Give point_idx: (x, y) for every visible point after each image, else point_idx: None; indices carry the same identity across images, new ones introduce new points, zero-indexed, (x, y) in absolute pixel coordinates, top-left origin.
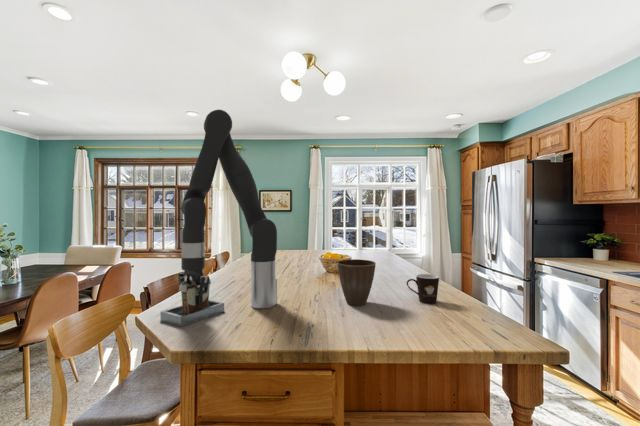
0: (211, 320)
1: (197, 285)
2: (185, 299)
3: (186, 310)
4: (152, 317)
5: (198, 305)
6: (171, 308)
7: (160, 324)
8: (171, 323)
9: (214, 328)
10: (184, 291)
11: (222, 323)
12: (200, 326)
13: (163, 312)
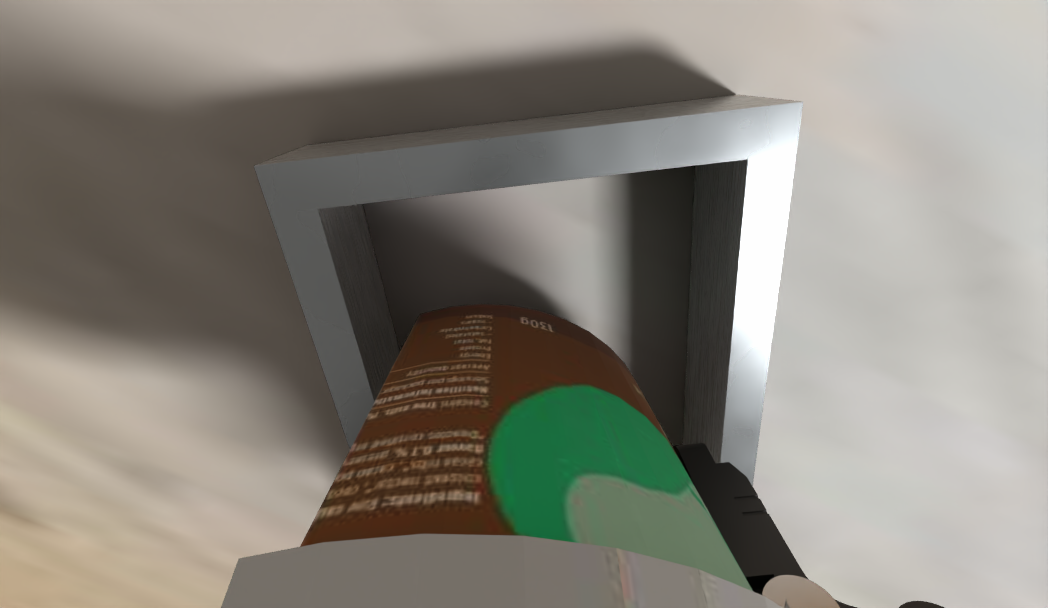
0: (279, 423)
1: None
2: (401, 430)
3: (436, 333)
4: (946, 87)
5: None
6: (769, 274)
7: (605, 20)
8: (502, 123)
9: (18, 337)
10: (258, 574)
11: (121, 440)
12: (173, 284)
13: (716, 111)
